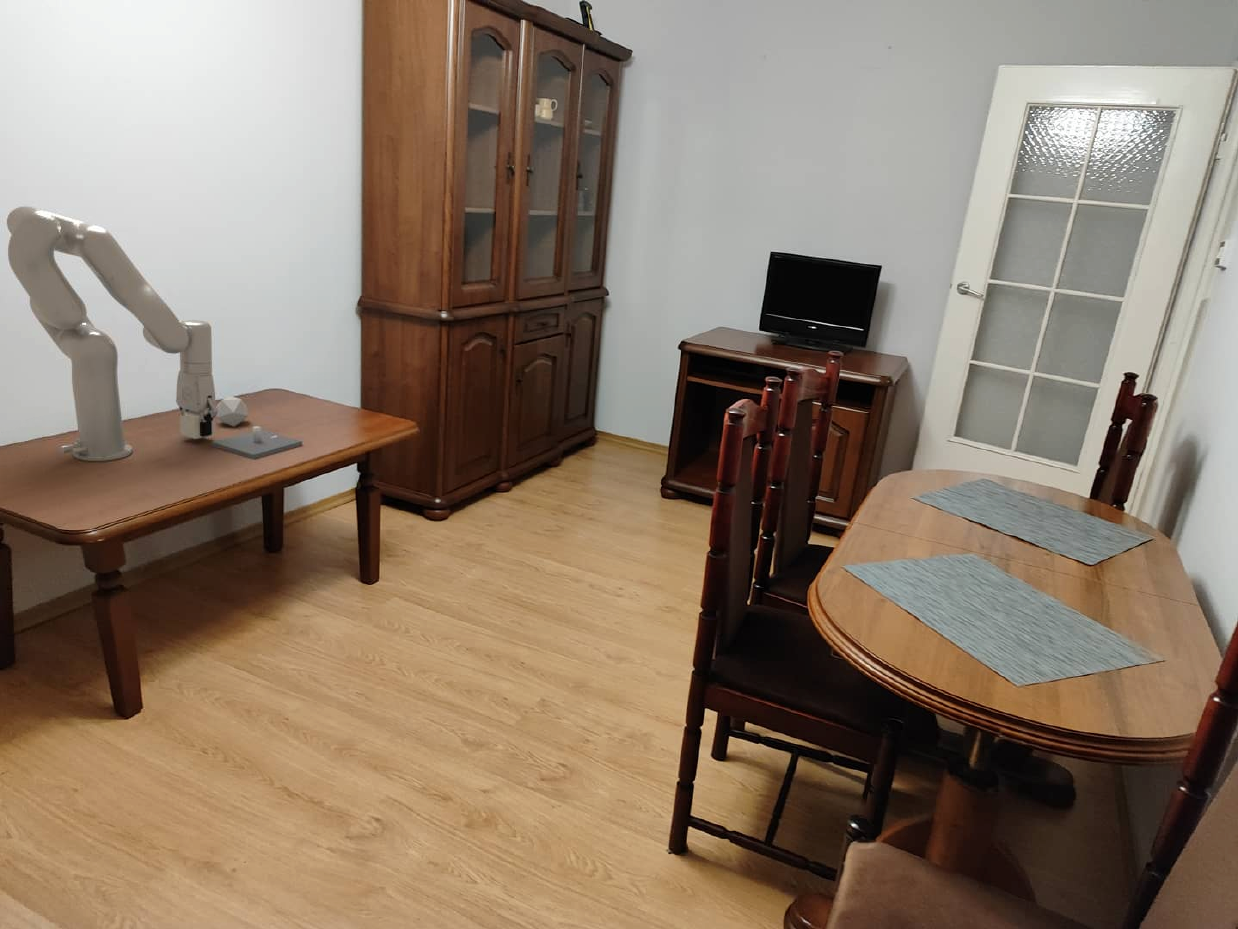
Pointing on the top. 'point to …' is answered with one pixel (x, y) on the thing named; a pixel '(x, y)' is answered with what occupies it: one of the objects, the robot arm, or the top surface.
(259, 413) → the top surface
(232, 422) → the die
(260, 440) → the grey square peg base
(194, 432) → the white stepped block
